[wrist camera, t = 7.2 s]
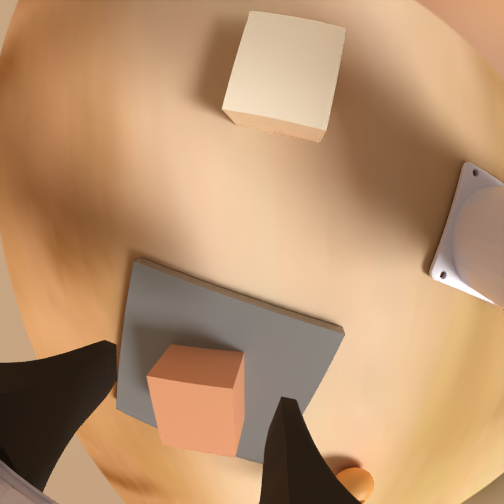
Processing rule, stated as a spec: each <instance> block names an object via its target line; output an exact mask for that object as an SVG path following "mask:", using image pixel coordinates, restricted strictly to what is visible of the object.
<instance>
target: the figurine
mask: <svg viewBox="0 0 504 504" xmlns="http://www.w3.org/2000/svg"><path fill="white" fill-rule="evenodd" d="M336 478H337V479H338V480H339V481H340V482H341V483H342V484H343V485H344V487H345V488H346V489H347V490H348V491H349V492H350V493H351V494H352V495H353V496H354V497H355V498H356V499H358V500H359V501H360V502H361V503H362V504H364V502H365V500H366V499H367V498H368V497H369V496H370V495H371V493H372V491H373V488H374V481H373V478H372V476H371V474H370V473H369V472H367V471H366V470H364V469H362V468H348V469H345V470H343V471H341V472H339V473H338V474H337V475H336Z"/></svg>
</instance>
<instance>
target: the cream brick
mask: <svg viewBox="0 0 504 504" xmlns="http://www.w3.org/2000/svg"><path fill="white" fill-rule="evenodd" d="M346 29H347V28H344V27H340V26H336V25H332V24H328V23H324V22H319V21H315V20H310V19H305V18H299V17H294V16H288V15H282V14H275V13H267V12H259V11H250V13H249V16H248V19H247V22H246V26H245V29H244V32H243V35H242V38H241V42H240V45H239V48H238V52H237V55H236V59H235V62H234V66H233V69H232V73H231V76H230V80H229V83H228V87H227V91H226V95H225V98H224V102H223V106H222V110H223V111H224V112H225V113H226V114H227V115H228V116H229V117H230V119H231V120H232V121H233V122H234V123H235V124H236V125H240V126H245V127H251V128H256V129H261V130H266V131H270V132H275V133H280V134H284V135H288V136H293V137H297V138H301V139H305V140H309V141H313V142H317V143H320V141H321V139H322V138H323V136H324V134H325V132H326V130H327V126H328V121H329V117H330V112H331V107H332V102H333V98H334V93H335V88H336V83H337V78H338V73H339V67H340V62H341V57H342V52H343V46H344V40H345V35H346Z"/></svg>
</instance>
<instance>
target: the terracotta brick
mask: <svg viewBox="0 0 504 504" xmlns="http://www.w3.org/2000/svg"><path fill="white" fill-rule="evenodd" d="M147 381H148V386H149V391H150V396H151V400H152V405H153V409H154V414H155V418H156V422H157V426H158V430H159V434H160V438H161V442H162V444H164V445H169V446H173V447H178V448H183V449H188V450H193V451H198V452H204V453H210V454H216V455H223V456H231V457H235V456H236V452H237V448H238V444H239V440H240V436H241V432H242V428H243V423H244V419H245V401H244V352H237V351H226V350H216V349H206V348H198V347H189V346H181V345H174V344H171V345H170V346H169V347H168V348H167V350H166V351H165V352H164V354H163V355H162V356H161V358H160V359H159V360H158V361H157V363H156V364H155V365H154V367H153V368H152V369H151V370H150V372H149V373H148V374H147Z"/></svg>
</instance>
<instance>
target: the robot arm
mask: <svg viewBox="0 0 504 504" xmlns="http://www.w3.org/2000/svg"><path fill="white" fill-rule="evenodd" d="M473 170H475V172H476V175H475V176H474V175H473ZM443 271H444V275H443V277H441V278H440V274H441V272H443ZM429 275H430V277H431V278H432V279H434V280H436V281H438V282H441V283H443V284H446V285H448V286H451V287H453V288H456V289H458V290H461V291H463V292H466V293H468V294H470V295H473V296H475V297H478V298H480V299H483V300H485V301H487V302H490V303H492V304H494V305H497V306H499V307H500V308H502V309H503V310H504V183H502V182H501V181H499V180H498V179H496V178H495V177H493V176H492V175H490V174H489V173H487V172H486V171H484V170H482V169H481V168H479V167H478V166H476V165H474V164H473V163H471V162H466V163H464V164H463V166H462V169H461V173H460V177H459V181H458V185H457V189H456V193H455V196H454V200H453V203H452V206H451V210H450V213H449V216H448V219H447V222H446V226H445V229H444V232H443V234H442V237H441V240H440V243H439V246H438V249H437V251H436V254H435V257H434V259H433V262H432V264H431V267H430V270H429ZM116 381H117V362H116V344H113V343H111V342H109V341H106V340H103V341H100V342H97V343H94V344H91V345H88V346H85V347H82V348H79V349H76V350H73V351H70V352H67V353H63V354H60V355H56V356H52V357H48V358H44V359H39V360H33V361H26V362H13V363H0V504H58V503H57V502H55V501H54V500H52V499H51V498H49V497H48V496H46V495H45V494H43V490H44V488H45V486H46V483H47V481H48V479H49V477H50V474H51V473H52V471H53V468H54V467H55V465H56V463H57V461H58V459H59V458H60V456H61V454H62V452H63V451H64V449H65V447H66V446H67V444H68V443H69V441H70V440H71V438H72V437H73V435H74V434H75V432H76V431H77V430H78V429H79V427H80V426H81V425H82V424H83V423H84V421H85V420H86V419H87V418H88V417H89V416H90V415H91V414H92V412H93V411H94V410H95V409H96V408H97V407H98V406H99V405H100V403H101V402H102V401H103V400H104V399H105V398H106V396H107V395H108V393H109V392H110V390H111V389H112V387H113V386H114V384H115V382H116ZM259 504H362V503H361V502H360V501H359V500H358V499H356V498H355V497H354V496H353V495H352V494H351V493H350V492H349V491H348V490H347V489H346V488H345V487H344V485H343V484H342V483H341V482H340V481H339V480H338V479H337V478H336V476H335V475H334V474H333V472H332V471H331V470H330V468H329V467H328V465H327V464H326V462H325V461H324V459H323V458H322V456H321V454H320V453H319V451H318V449H317V447H316V445H315V443H314V441H313V439H312V437H311V435H310V433H309V431H308V429H307V426H306V424H305V421H304V419H303V416H302V414H301V411H300V408H299V405H298V402H297V400H296V399H292V398H287V397H282V396H281V398H280V401H279V404H278V406H277V409H276V411H275V414H274V416H273V419H272V422H271V424H270V427H269V429H268V434H267V439H266V444H265V449H264V461H263V474H262V487H261V496H260V502H259Z"/></svg>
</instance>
